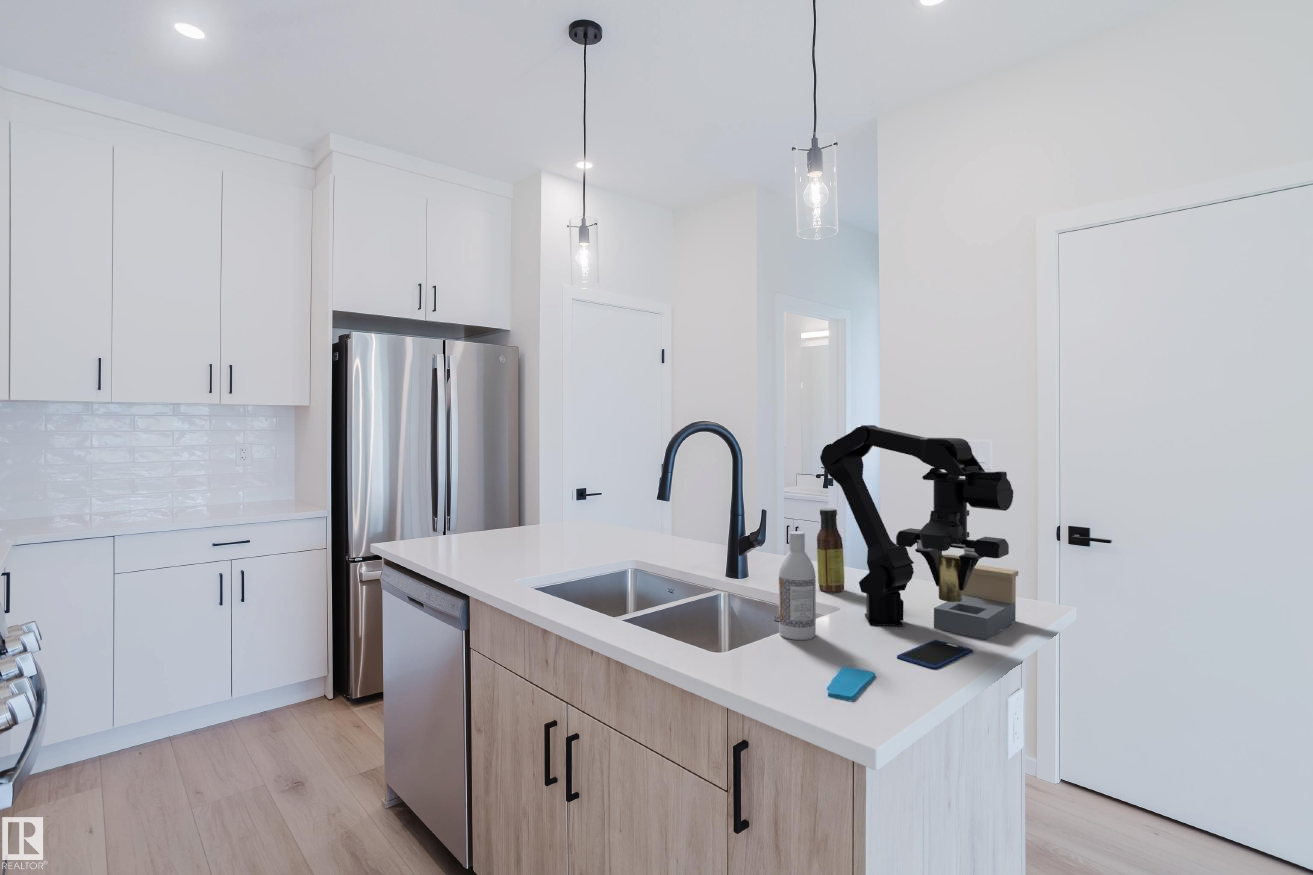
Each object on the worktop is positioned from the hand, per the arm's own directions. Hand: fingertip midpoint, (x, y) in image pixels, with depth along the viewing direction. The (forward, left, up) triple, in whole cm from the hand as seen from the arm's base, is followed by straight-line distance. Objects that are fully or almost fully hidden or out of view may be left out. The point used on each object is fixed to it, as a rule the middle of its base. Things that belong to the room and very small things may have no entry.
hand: (950, 588), depth 122 cm
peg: (0, 0, -2) cm, 2 cm away
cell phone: (-5, -8, -10) cm, 14 cm away
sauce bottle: (-18, +34, -10) cm, 40 cm away
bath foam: (-28, -1, -10) cm, 30 cm away
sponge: (-22, -23, -11) cm, 34 cm away
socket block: (+8, +11, -10) cm, 16 cm away
